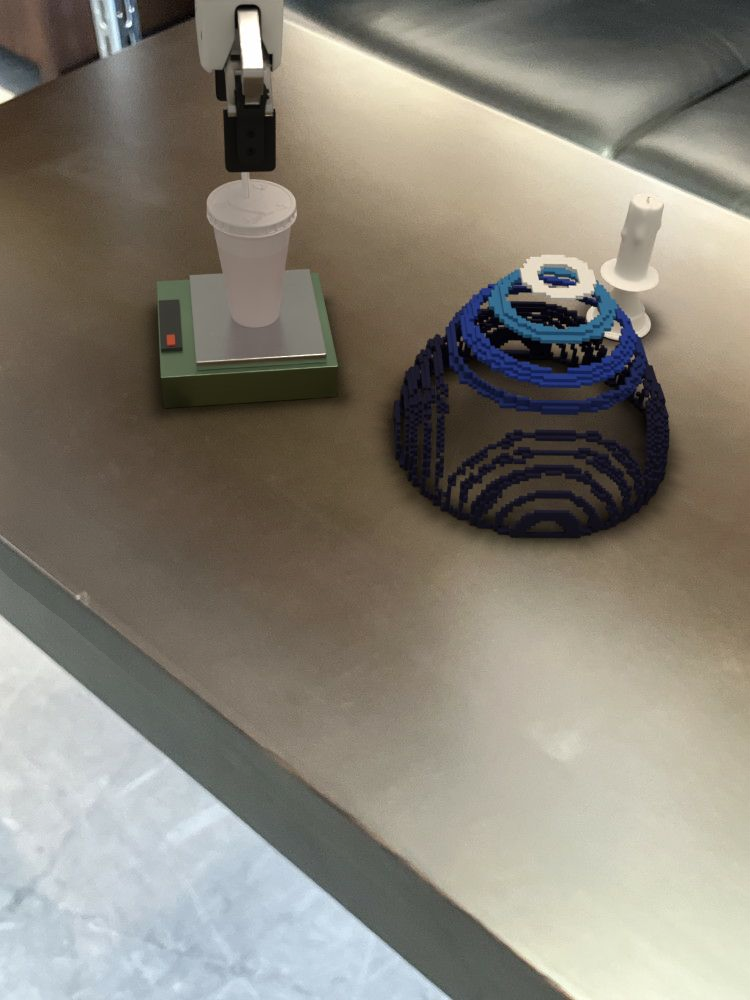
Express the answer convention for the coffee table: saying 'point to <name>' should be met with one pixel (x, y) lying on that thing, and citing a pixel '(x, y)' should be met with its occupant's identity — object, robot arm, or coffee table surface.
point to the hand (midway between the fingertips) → (244, 132)
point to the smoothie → (252, 245)
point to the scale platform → (250, 347)
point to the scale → (232, 383)
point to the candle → (633, 264)
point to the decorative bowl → (540, 348)
